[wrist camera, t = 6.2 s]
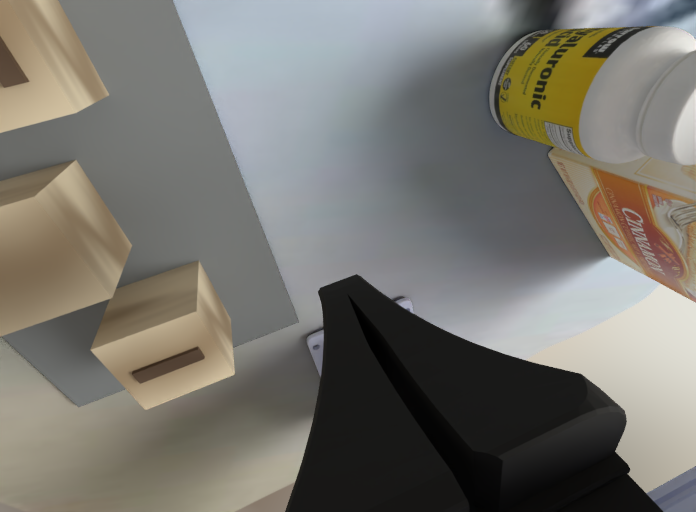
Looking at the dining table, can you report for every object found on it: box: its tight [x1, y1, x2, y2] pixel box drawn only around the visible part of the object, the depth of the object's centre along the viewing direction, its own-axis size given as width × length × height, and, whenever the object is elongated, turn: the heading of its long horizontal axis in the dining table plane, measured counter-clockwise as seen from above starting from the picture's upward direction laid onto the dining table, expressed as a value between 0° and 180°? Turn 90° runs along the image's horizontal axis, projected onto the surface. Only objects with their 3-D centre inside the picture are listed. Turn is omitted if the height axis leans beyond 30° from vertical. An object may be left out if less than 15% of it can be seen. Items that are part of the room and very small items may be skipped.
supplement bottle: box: [489, 26, 696, 166], centre depth 17 cm, size 5×5×10 cm
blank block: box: [0, 160, 132, 337], centre depth 14 cm, size 4×4×4 cm
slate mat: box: [0, 0, 299, 407], centre depth 17 cm, size 22×14×1 cm, turn 12°
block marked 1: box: [90, 261, 235, 410], centre depth 18 cm, size 4×4×5 cm
